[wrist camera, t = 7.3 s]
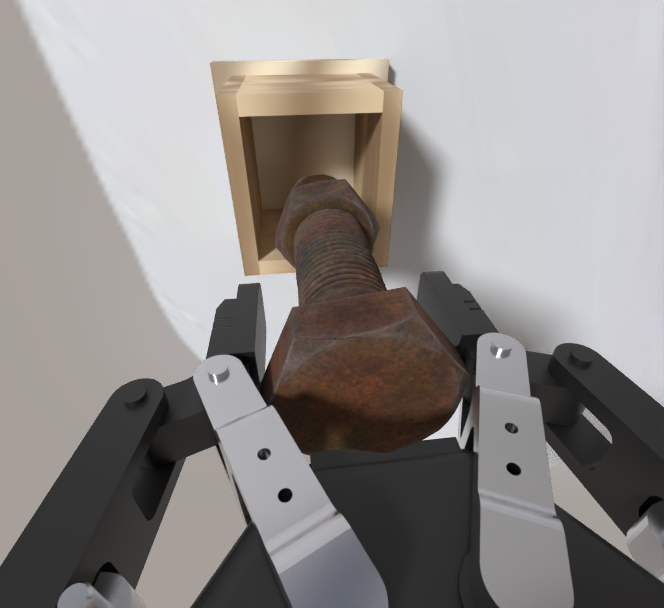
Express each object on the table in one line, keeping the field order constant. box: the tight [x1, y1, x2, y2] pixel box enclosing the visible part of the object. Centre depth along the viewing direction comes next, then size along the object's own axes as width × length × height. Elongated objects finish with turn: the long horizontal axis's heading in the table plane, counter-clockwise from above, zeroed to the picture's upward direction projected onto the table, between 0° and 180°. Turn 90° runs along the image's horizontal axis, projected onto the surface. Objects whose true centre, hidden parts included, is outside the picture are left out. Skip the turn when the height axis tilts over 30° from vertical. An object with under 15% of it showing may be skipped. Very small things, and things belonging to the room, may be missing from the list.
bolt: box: [260, 174, 471, 455], centre depth 16 cm, size 6×5×15 cm
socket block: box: [210, 59, 403, 276], centre depth 27 cm, size 12×12×10 cm
